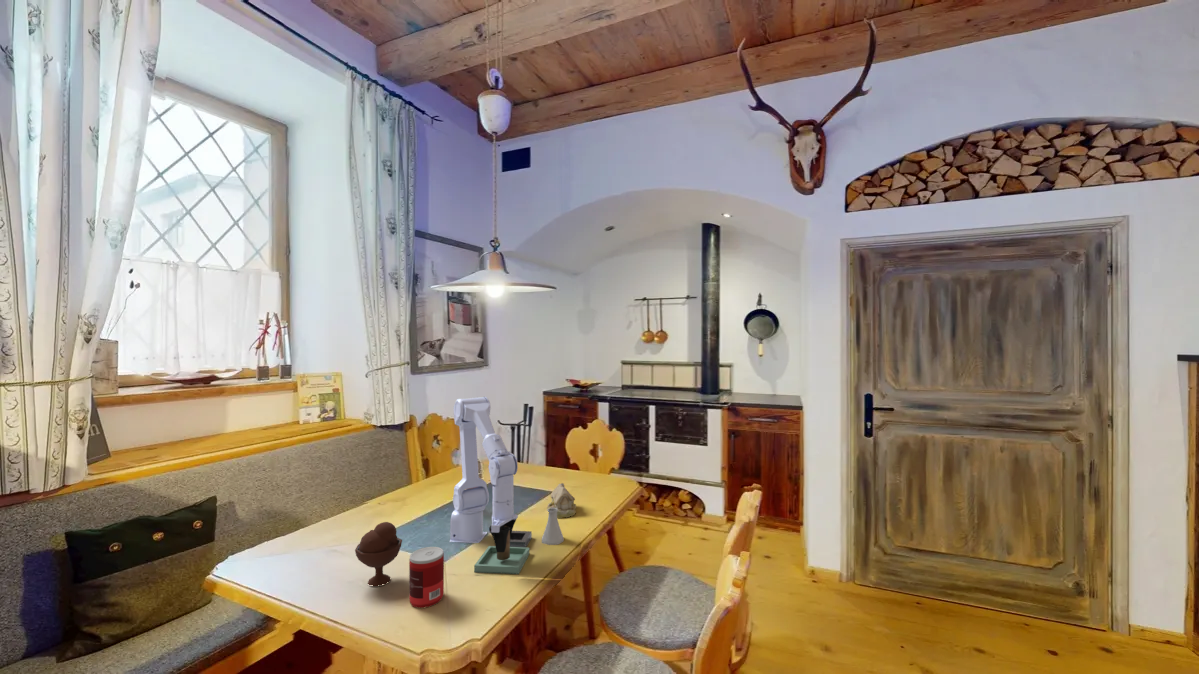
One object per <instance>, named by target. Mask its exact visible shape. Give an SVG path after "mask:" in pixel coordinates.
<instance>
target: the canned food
mask: <svg viewBox="0 0 1199 674" xmlns="http://www.w3.org/2000/svg"><path fill="white" fill-rule="evenodd" d="M444 555H445V554H444V549H443V548H441V547H439V546H427V547H421V548H418V549H417V550H414V551H413V552H412V553H410V555H409V560H408V561H409V563H408V564H409V570H408V572H409V573H408V575H409V576H408V577H409V579H408V583H409V589H408V590H409V603H410V605H411V606H412V607H414V608H418V609H423V608H424V607H426V608H429V606H430V607H433V606H435V605H436V603H437V604H438V603H440V602H441V601H442V599H443V597H444V590H445V587H444V583H445V582H444V578H445V576H444V575H445V572H444V571H445V557H444ZM434 604H435V605H434ZM432 605H433V606H432Z"/></svg>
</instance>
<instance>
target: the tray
mask: <svg viewBox="0 0 1199 674" xmlns="http://www.w3.org/2000/svg"><path fill="white" fill-rule="evenodd" d="M529 556H530V547H528V546H527V547H510V557H509V558H508V559H506V560H498V559H497V550H496V546H495V545H488V546H487V547H486V548H485V551H484V552H483V553H482V555H481V556H480V557H479V559H478V560H477V561H476V563H475V564H474V565H473V566H474V570H473V571H474V572H473V573H475V574H476V573H477V574H478V573H479V574H480V573H481V574H500V575H503V574H504V575H519V574H520V573H521V571H522V568H523V567H524V566H525V564H526V561H527V560H528V559H529Z"/></svg>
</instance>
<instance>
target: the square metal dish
mask: <svg viewBox="0 0 1199 674" xmlns="http://www.w3.org/2000/svg"><path fill="white" fill-rule="evenodd" d="M532 534H533V533H532V531H529V530H527V531H525V530H512V533H511V538H510V547H527V548H528V545H529V543H530V542H531V540H532V538H533V537H532Z"/></svg>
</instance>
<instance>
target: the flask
mask: <svg viewBox="0 0 1199 674" xmlns="http://www.w3.org/2000/svg"><path fill="white" fill-rule="evenodd" d="M548 512H549V513H548ZM548 512H547V513H548V518H547V523H546V526H545V529H544V531H543V534H542V537H541V544H543V545H547V546H555V545H556V546H557V545H561V544H562V543H563V542H564V541H565V538H564V536H563V533H562V530H561V527H560V524H559V521H558V518H557V512H558V508H549V509H548Z"/></svg>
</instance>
